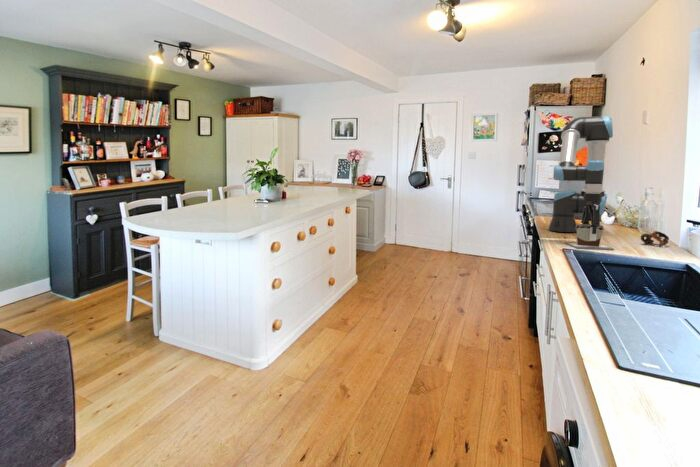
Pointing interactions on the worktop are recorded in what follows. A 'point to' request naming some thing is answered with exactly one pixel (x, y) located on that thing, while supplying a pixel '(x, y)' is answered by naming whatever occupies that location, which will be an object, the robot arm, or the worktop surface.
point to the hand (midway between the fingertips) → (588, 239)
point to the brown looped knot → (655, 236)
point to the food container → (587, 235)
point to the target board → (601, 247)
